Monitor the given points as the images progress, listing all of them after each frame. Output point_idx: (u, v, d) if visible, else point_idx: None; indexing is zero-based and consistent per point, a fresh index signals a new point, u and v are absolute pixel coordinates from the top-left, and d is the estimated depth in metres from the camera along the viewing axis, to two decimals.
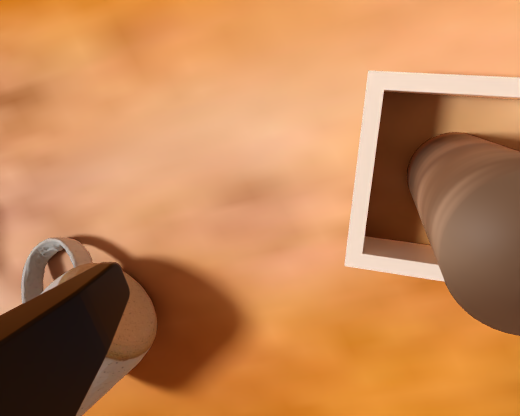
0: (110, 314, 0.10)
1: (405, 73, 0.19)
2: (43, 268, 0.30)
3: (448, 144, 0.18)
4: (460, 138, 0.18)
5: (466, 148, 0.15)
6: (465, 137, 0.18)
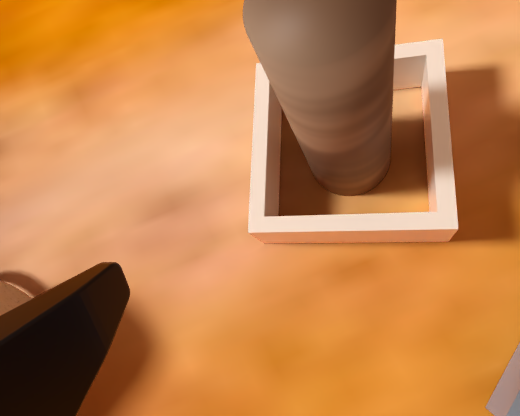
0: (110, 314, 0.10)
1: None
2: None
3: None
4: None
5: None
6: None
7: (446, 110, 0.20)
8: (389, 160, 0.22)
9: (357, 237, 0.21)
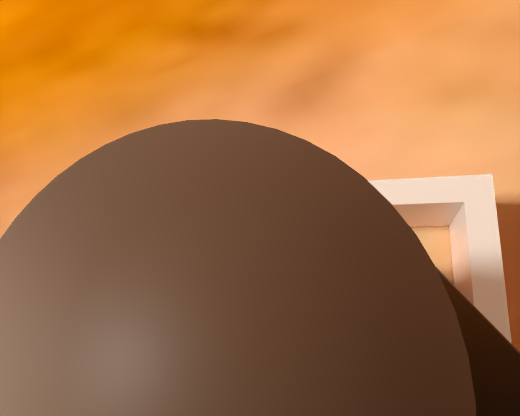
0: None
1: None
2: None
3: None
4: None
5: None
6: None
7: (504, 314, 0.11)
8: None
9: None
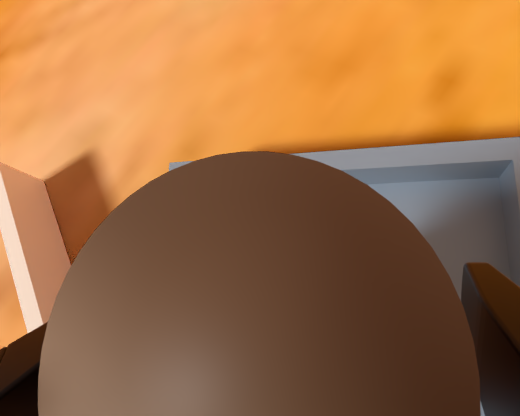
0: None
1: None
2: None
3: None
4: None
5: None
6: None
7: (14, 228, 0.19)
8: None
9: None
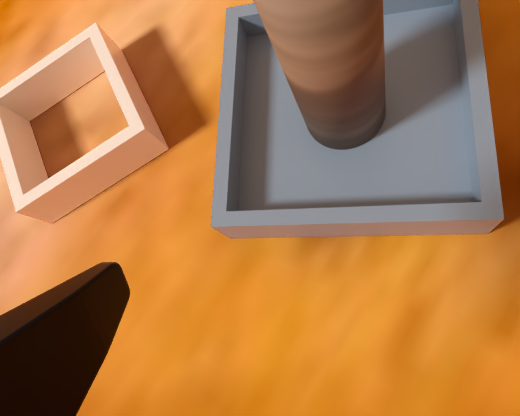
0: (110, 314, 0.10)
1: (2, 87, 0.29)
2: None
3: None
4: None
5: None
6: None
7: (113, 63, 0.27)
8: (384, 110, 0.22)
9: (101, 176, 0.27)
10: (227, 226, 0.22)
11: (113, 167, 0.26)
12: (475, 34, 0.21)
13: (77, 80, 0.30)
